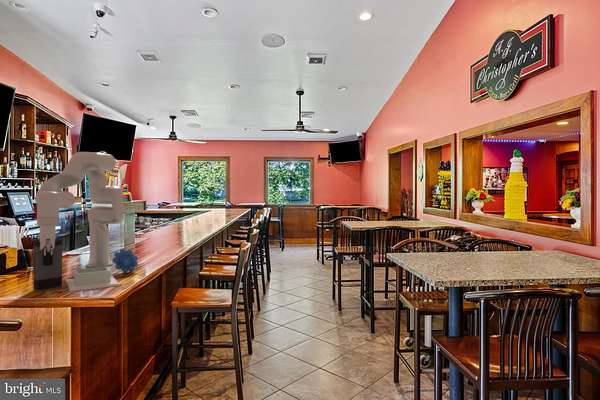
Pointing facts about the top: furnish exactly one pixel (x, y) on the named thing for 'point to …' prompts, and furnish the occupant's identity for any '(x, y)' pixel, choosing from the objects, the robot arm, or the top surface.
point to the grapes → (125, 260)
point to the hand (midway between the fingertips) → (47, 263)
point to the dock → (91, 279)
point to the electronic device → (47, 268)
